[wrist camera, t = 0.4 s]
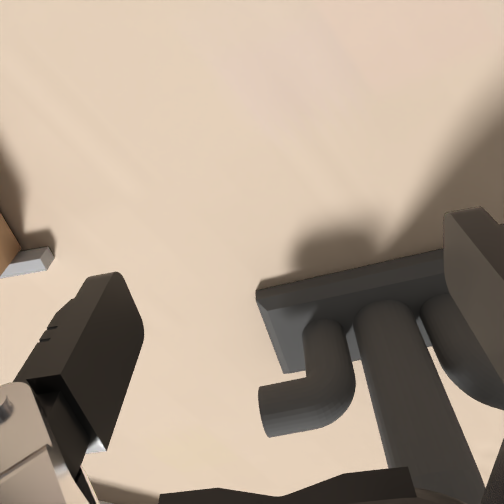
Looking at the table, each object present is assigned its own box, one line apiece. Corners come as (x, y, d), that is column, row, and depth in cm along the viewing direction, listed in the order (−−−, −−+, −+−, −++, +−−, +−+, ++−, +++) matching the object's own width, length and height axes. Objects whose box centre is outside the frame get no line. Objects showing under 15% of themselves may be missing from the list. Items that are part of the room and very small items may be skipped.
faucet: (295, 416, 43) (321, 714, 26) (248, 292, 34) (241, 617, 18) (497, 381, 40) (668, 692, 23) (499, 235, 31) (769, 562, 15)
